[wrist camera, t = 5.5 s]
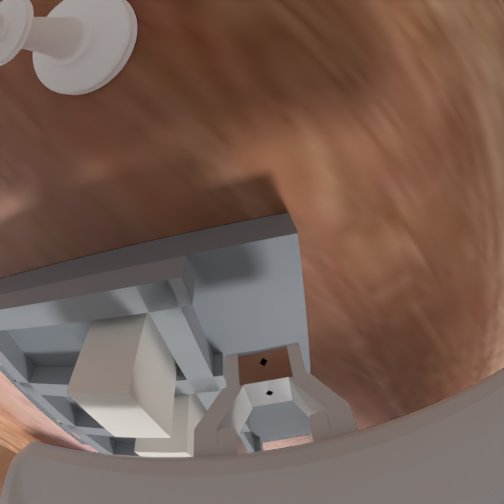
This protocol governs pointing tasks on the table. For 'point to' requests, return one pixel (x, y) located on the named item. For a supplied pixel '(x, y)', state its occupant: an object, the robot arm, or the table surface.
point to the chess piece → (70, 41)
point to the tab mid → (176, 430)
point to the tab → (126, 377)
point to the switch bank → (163, 319)
